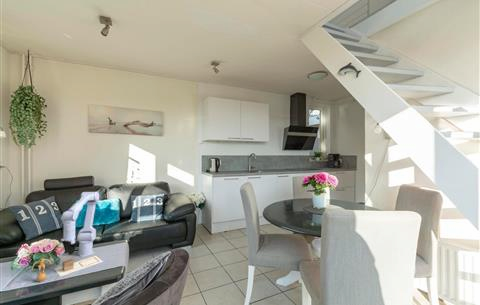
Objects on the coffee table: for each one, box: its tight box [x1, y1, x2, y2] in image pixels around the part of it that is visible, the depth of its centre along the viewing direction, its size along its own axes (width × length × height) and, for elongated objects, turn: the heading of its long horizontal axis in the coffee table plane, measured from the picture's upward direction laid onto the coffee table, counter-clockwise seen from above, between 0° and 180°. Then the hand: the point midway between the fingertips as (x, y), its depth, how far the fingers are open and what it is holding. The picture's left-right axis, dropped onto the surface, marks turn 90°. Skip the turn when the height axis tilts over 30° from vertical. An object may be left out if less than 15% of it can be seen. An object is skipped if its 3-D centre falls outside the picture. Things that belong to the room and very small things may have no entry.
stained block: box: [61, 258, 75, 272], centre depth 130 cm, size 4×4×5 cm
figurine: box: [31, 257, 52, 282], centre depth 119 cm, size 8×6×12 cm
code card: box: [54, 255, 104, 277], centre depth 134 cm, size 13×22×1 cm, turn 142°
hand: (69, 252), depth 130 cm, fingers open, 7 cm apart
